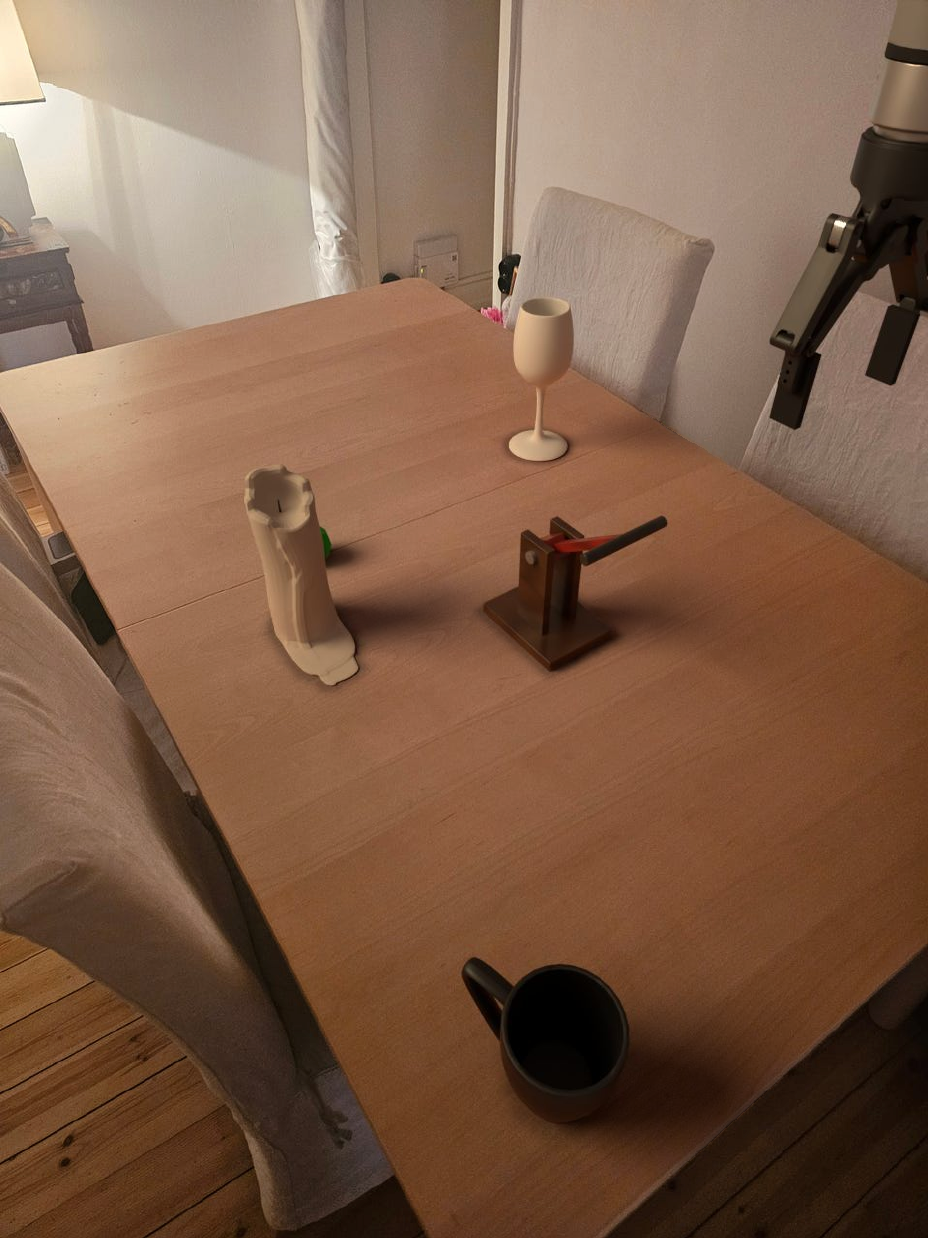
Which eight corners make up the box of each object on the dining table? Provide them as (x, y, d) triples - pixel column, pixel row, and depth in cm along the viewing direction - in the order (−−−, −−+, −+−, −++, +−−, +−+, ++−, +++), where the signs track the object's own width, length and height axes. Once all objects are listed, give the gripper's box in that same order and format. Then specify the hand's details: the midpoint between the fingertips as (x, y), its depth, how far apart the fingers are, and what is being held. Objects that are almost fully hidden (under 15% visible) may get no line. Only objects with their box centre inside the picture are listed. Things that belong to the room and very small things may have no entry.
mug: (502, 966, 65) (504, 906, 58) (635, 1070, 59) (654, 1016, 53) (434, 1053, 60) (428, 998, 54) (572, 1174, 54) (584, 1129, 48)
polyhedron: (289, 552, 104) (283, 521, 101) (327, 543, 105) (322, 512, 102) (298, 575, 101) (292, 544, 97) (337, 566, 102) (333, 535, 99)
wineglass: (497, 450, 122) (499, 310, 107) (528, 425, 127) (534, 288, 112) (548, 468, 118) (557, 325, 104) (577, 441, 123) (590, 302, 109)
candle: (314, 694, 86) (283, 542, 73) (265, 619, 95) (229, 470, 81) (375, 667, 89) (356, 515, 75) (321, 597, 98) (296, 449, 84)
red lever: (671, 532, 77) (663, 508, 77) (591, 572, 73) (583, 547, 73) (583, 542, 90) (576, 521, 89) (511, 576, 86) (503, 555, 85)
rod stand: (611, 637, 92) (624, 546, 83) (549, 671, 88) (556, 580, 79) (542, 582, 99) (548, 493, 91) (483, 611, 95) (483, 521, 87)
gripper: (966, 98, 67) (880, 349, 81) (763, 145, 56) (705, 424, 70) (1060, 114, 62) (952, 377, 76) (858, 168, 52) (776, 461, 66)
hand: (833, 400), depth 73 cm, fingers open, 13 cm apart
